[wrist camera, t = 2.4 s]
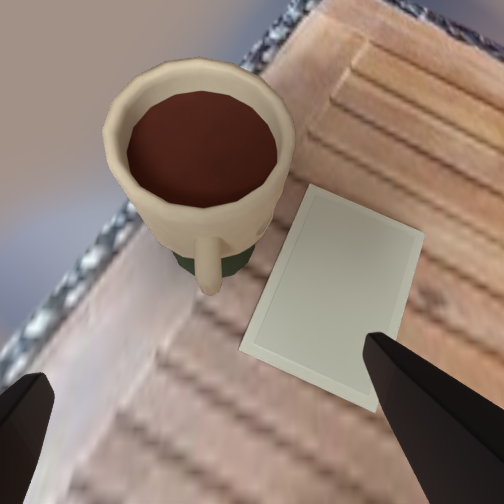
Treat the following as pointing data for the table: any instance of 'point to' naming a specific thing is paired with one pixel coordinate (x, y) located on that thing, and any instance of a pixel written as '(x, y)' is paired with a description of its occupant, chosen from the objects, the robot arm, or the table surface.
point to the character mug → (201, 160)
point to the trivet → (334, 294)
